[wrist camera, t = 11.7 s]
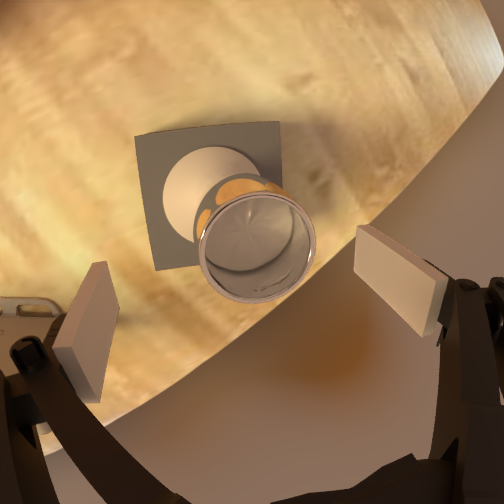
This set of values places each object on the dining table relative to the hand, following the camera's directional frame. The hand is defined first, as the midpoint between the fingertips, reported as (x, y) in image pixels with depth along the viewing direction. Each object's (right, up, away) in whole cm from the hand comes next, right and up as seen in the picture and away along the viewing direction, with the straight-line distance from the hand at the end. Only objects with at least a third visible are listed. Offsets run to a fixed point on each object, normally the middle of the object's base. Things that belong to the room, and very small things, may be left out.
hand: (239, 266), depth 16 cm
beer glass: (-2, +6, +15) cm, 17 cm away
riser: (-5, +9, +22) cm, 25 cm away
